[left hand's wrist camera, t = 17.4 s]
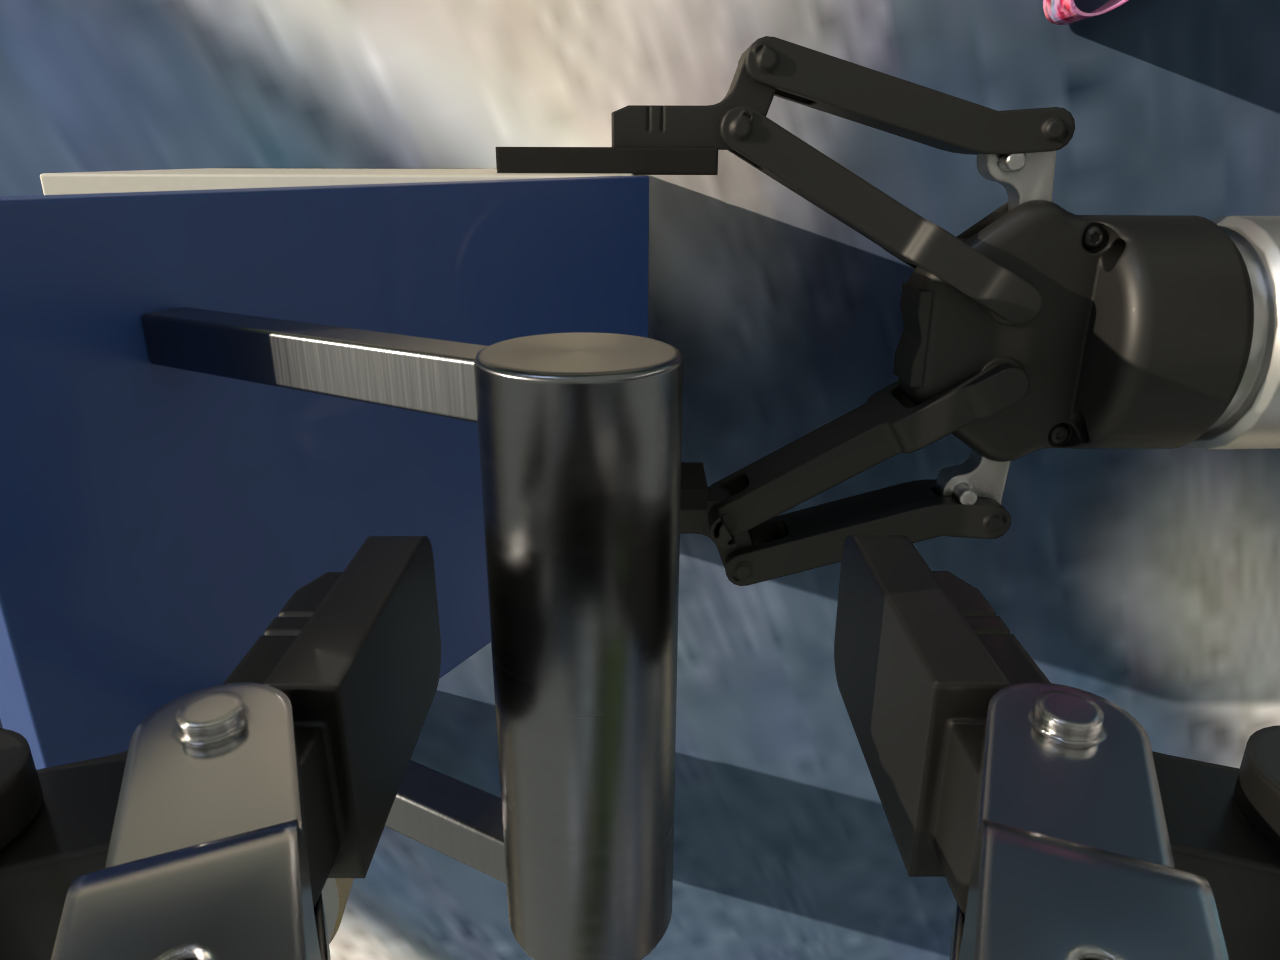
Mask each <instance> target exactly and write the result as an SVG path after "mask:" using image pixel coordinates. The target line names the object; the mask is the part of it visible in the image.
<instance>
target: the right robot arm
mask: <svg viewBox="0 0 1280 960" xmlns="http://www.w3.org/2000/svg"><path fill="white" fill-rule="evenodd" d="M774 96H777V97H781V98H784V99H787V100H790V101H793V102H796V103H799V104H802V105H805V106H808V107H811V108H814V109H818V110H821V111H824V112H827V113H830V114H833V115H836V116H839V117H842V118H845V119H848V120H851V121H855V122H858V123H861V124H864V125H867V126H870V127H873V128H876V129H879V130H882V131H885V132H888V133H892V134H895V135H898V136H901V137H904V138H907V139H910V140H913V141H916V142H919V143H922V144H925V145H929V146H932V147H935V148H938V149H941V150H945V151H949V152H953V153H961V154H977V168H978V171H979V173H980V174H981V176H982V177H984V178H985V179H987V180H991V181H995V182H998V183H1000V184H1002V185H1003V186H1004V188H1005V189H1006V191H1007V194H1008V203H1006V204H1004V205H1002V206H1001V207H999V208H998V209H997V210H995V211H994V212H992V213H991V214H989V215H988V216H986V217H985V218H983V219H982V220H980V221H979V222H978V223H976V224H975V225H973V226H972V227H970V228H969V229H967V230H966V231H964V232H963V233H961V234H960V235H958V236H957V237H955V236H953V235H952V234H950V233H949V232H947V231H946V230H944V229H942V228H941V227H939V226H937V225H936V224H934V223H932V222H930V221H928V220H926V219H924V218H922V217H921V216H919V215H918V214H916V213H914V212H913V211H911V210H910V209H908V208H907V207H905V206H904V205H902V204H900V203H899V202H897V201H896V200H894V199H893V198H891V197H890V196H888V195H886V194H885V193H883V192H882V191H880V190H879V189H877V188H876V187H874V186H872V185H871V184H869V183H868V182H866V181H865V180H863V179H862V178H860V177H858V176H857V175H855V174H854V173H852V172H851V171H849V170H848V169H846V168H844V167H843V166H841V165H840V164H838V163H837V162H835V161H834V160H832V159H830V158H829V157H827V156H826V155H824V154H823V153H821V152H820V151H818V150H816V149H815V148H813V147H812V146H810V145H809V144H807V143H806V142H804V141H802V140H801V139H799V138H798V137H796V136H795V135H793V134H792V133H790V132H788V131H787V130H785V129H784V128H782V127H781V126H779V125H778V124H776V123H774V122H773V121H771V120H770V119H768V118H767V117H766V115H767V112H768V110H769V107H770V104H771V102H772V99H773V97H774ZM1074 130H1075V122H1074V118H1073V117H1072V115H1071V113H1070V112H1069V111H1067V110H1066V109H1064V108H1058V107H1052V108H1038V109H1023V110H1008V111H996V110H993V109H990V108H987V107H984V106H981V105H978V104H975V103H972V102H969V101H966V100H963V99H960V98H957V97H954V96H951V95H948V94H945V93H942V92H939V91H936V90H933V89H930V88H926V87H923V86H920V85H917V84H914V83H911V82H908V81H905V80H902V79H899V78H896V77H893V76H890V75H887V74H884V73H881V72H878V71H875V70H872V69H869V68H866V67H863V66H860V65H857V64H854V63H851V62H848V61H845V60H842V59H839V58H836V57H833V56H830V55H827V54H824V53H821V52H818V51H815V50H812V49H809V48H806V47H803V46H800V45H797V44H794V43H791V42H788V41H785V40H781V39H778V38H775V37H768V36H766V37H763V38H760V39H758V40H756V41H755V42H754V43H753V44H752V45H751V46H750V47H749V48H748V49H747V50H746V51H745V52H744V53H743V54H742V56H741V58H740V60H739V62H738V67H737V70H736V73H735V75H734V78H733V81H732V83H731V86H730V89H729V91H728V93H727V95H726V97H725V98H724V99H723V100H722V101H721V102H720V103H718V104H715V105H710V106H626V107H624V108H622V109H619V110H617V111H615V112H612V147H496V163H497V173H602V174H633V175H717V172H718V150H728V151H730V152H731V153H733V154H735V155H736V156H738V157H739V158H741V159H743V160H744V161H746V162H747V163H749V164H751V165H752V166H754V167H755V168H757V169H758V170H760V171H762V172H763V173H765V174H766V175H768V176H770V177H771V178H773V179H774V180H776V181H778V182H779V183H781V184H782V185H784V186H785V187H787V188H789V189H790V190H792V191H793V192H795V193H797V194H798V195H800V196H801V197H803V198H804V199H806V200H808V201H809V202H811V203H812V204H814V205H816V206H817V207H819V208H820V209H822V210H824V211H825V212H827V213H828V214H830V215H831V216H833V217H835V218H836V219H838V220H839V221H841V222H843V223H844V224H846V225H847V226H849V227H851V228H852V229H854V230H855V231H857V232H858V233H860V234H862V235H863V236H865V237H866V238H868V239H870V240H871V241H873V242H874V243H876V244H878V245H879V246H881V247H882V248H883V249H884V250H886V251H887V252H889V253H890V254H892V255H894V256H895V257H897V258H898V259H900V260H901V261H903V262H905V263H906V264H908V265H909V266H911V267H913V268H914V269H915V270H914V271H913V273H912V275H911V277H910V279H909V281H908V282H903V285H902V294H901V304H900V306H901V312H902V318H903V324H904V330H903V333H902V336H901V338H900V341H899V344H898V346H897V349H896V353H895V362H894V372H893V373H894V374H895V375H896V376H897V377H898V379H899V381H897V382H895V383H893V384H891V385H889V386H887V387H885V388H884V389H882V390H880V391H878V392H876V393H875V394H873V395H872V396H871V397H870V398H869V400H868V401H867V402H866V403H865V404H863V405H862V406H860V407H858V408H856V409H854V410H852V411H850V412H849V413H847V414H845V415H843V416H841V417H839V418H837V419H835V420H833V421H831V422H830V423H828V424H826V425H824V426H822V427H820V428H818V429H816V430H814V431H813V432H811V433H809V434H807V435H805V436H803V437H801V438H799V439H797V440H795V441H794V442H792V443H790V444H788V445H786V446H784V447H782V448H780V449H778V450H777V451H775V452H773V453H771V454H769V455H767V456H765V457H763V458H761V459H760V460H758V461H756V462H754V463H752V464H750V465H748V466H746V467H744V468H742V469H741V470H739V471H737V472H735V473H733V474H731V475H729V476H727V477H725V478H724V479H722V480H720V481H718V482H716V483H714V484H712V485H711V486H710V487H707V482H706V477H705V472H704V467H703V463H681V493H680V533H697V534H703V535H706V536H708V537H709V538H711V539H712V541H713V542H714V543H715V544H716V546H717V548H718V551H719V553H720V556H721V559H722V562H723V564H724V567H725V571H726V575H727V577H728V579H729V580H730V581H731V582H732V583H733V584H736V585H739V586H746V585H751V584H755V583H759V582H763V581H766V580H770V579H774V578H778V577H782V576H786V575H790V574H794V573H798V572H802V571H806V570H810V569H814V568H817V567H821V566H825V565H829V564H833V563H837V562H841V561H842V552H843V546H844V542H845V540H846V538H847V536H848V535H905V536H907V537H908V538H909V540H910V541H911V543H915V542H919V541H923V540H927V539H931V538H935V537H939V536H952V537H968V538H984V539H993V538H998V537H1000V536H1002V535H1004V534H1005V533H1006V532H1007V531H1008V529H1009V527H1010V525H1011V517H1010V514H1009V512H1008V511H1007V510H1006V509H1005V508H1004V507H1003V506H1002V505H1001V500H1002V496H1003V491H1004V487H1005V483H1006V478H1007V474H1008V469H1009V465H1010V461H1012V460H1016V459H1018V458H1020V457H1022V456H1024V455H1026V454H1028V453H1031V452H1033V451H1036V450H1039V449H1043V448H1078V449H1087V448H1133V449H1171V448H1177V447H1181V446H1184V445H1188V446H1190V447H1194V448H1200V449H1266V448H1280V216H1225V217H1218V218H1215V219H1213V220H1208V219H1206V218H1204V217H1199V216H1134V215H1075V214H1072V213H1070V212H1068V211H1066V210H1064V209H1063V208H1061V207H1060V206H1059V205H1057V204H1055V203H1053V202H1052V192H1053V181H1054V170H1055V160H1056V150H1059V149H1061V148H1063V147H1064V146H1065V145H1067V144H1068V142H1069V141H1070V140H1071V138H1072V137H1073V133H1074ZM950 433H952V434H953V435H955V436H956V437H957V438H959V439H960V440H961V441H962V442H964V443H965V444H966V445H968V446H969V447H970V448H972V449H973V451H972V454H971V456H970V457H969V459H968V460H967V461H966V462H964V463H963V464H960V465H957V466H952V467H948V468H944V469H942V470H941V471H940V472H939V474H938V477H937V480H918V481H911V482H907V483H902V484H898V485H894V486H890V487H887V488H883V489H879V490H875V491H871V492H867V493H864V494H860V495H856V496H852V497H848V498H845V499H841V500H837V501H833V502H829V503H825V504H822V505H818V506H814V507H810V508H806V509H803V510H799V511H795V512H791V513H787V514H783V515H780V516H777V515H779V514H781V513H783V512H785V511H787V510H789V509H791V508H792V507H794V506H796V505H798V504H800V503H802V502H804V501H806V500H808V499H810V498H812V497H814V496H816V495H818V494H820V493H822V492H824V491H826V490H827V489H829V488H831V487H833V486H835V485H837V484H839V483H841V482H843V481H845V480H847V479H849V478H851V477H853V476H855V475H857V474H859V473H861V472H863V471H864V470H866V469H868V468H870V467H872V466H874V465H876V464H878V463H880V462H882V461H884V460H886V459H888V458H890V457H892V456H894V455H896V454H898V453H910V452H914V451H917V450H919V449H921V448H923V447H925V446H927V445H929V444H931V443H933V442H935V441H937V440H939V439H941V438H943V437H944V436H946V435H948V434H950ZM775 516H776V517H775Z"/></svg>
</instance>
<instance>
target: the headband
mask: <svg viewBox="0 0 1280 960" xmlns="http://www.w3.org/2000/svg"><path fill="white" fill-rule="evenodd" d="M1127 1H1128V0H1109V1H1108V2H1107V3H1105V4H1104V5H1102V6H1101V7H1099V8H1098V9H1096V10H1095V11H1093V12H1091V13H1084V12H1082V11H1080V10H1079V9H1078V8H1077V7H1076V5H1075V3H1074V0H1043V8H1044V13H1045V16H1046V18H1047V19H1048V20H1049V21H1050V22H1051V23H1053V24H1057V25H1065V24H1070V23H1073V22H1077V21H1080V20H1083V19H1086V18H1090V17H1093V16H1096V15H1099V14H1102V13H1105V12H1108V11H1110V10H1112V9H1114V8H1116V7H1118V6H1120V5H1122V4H1123V3H1125V2H1127Z"/></svg>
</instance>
